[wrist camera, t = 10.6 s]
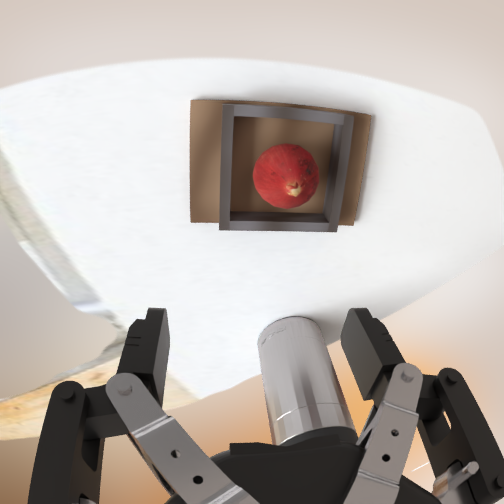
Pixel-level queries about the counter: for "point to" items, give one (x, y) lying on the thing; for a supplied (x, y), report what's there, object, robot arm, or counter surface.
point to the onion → (286, 175)
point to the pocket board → (259, 140)
